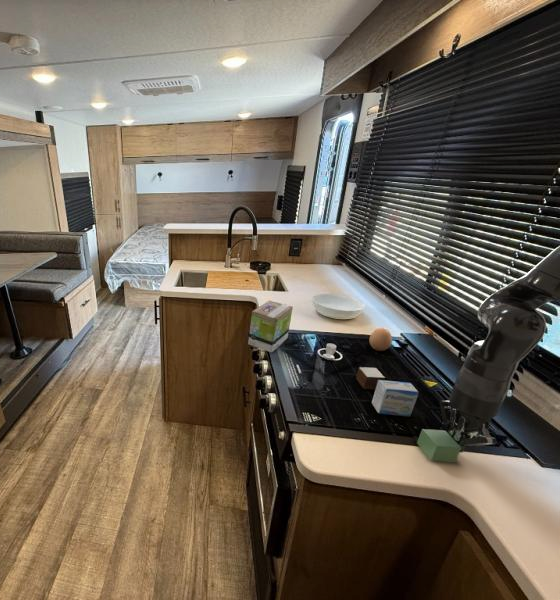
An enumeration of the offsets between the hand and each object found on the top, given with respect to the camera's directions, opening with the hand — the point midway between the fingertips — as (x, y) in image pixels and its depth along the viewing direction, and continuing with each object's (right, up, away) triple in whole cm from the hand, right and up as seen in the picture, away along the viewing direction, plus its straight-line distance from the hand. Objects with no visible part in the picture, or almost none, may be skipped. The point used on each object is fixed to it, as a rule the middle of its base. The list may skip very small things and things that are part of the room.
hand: (453, 449), depth 71 cm
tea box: (-25, +18, +50) cm, 59 cm away
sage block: (-4, -1, +1) cm, 4 cm away
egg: (+13, +16, +43) cm, 48 cm away
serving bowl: (+14, +28, +72) cm, 78 cm away
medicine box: (-4, +4, +14) cm, 15 cm away
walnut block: (-3, +8, +24) cm, 26 cm away
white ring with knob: (-9, +15, +41) cm, 44 cm away
